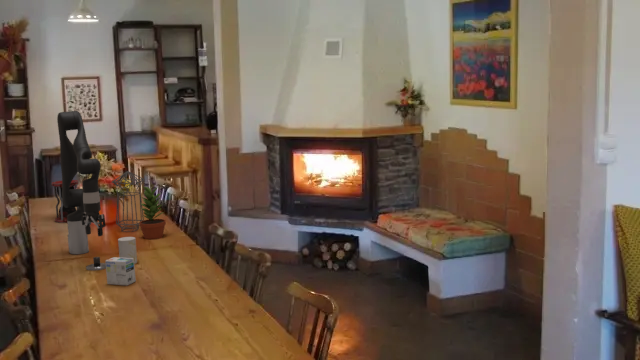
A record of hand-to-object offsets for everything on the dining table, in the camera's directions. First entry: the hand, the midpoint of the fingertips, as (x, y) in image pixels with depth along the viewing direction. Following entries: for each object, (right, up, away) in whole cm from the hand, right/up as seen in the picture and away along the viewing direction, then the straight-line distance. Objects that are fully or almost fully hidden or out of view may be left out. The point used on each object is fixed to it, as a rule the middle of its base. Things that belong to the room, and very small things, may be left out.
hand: (94, 235), depth 337 cm
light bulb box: (+19, -19, -24) cm, 36 cm away
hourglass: (-54, 0, +118) cm, 130 cm away
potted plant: (+13, -6, +63) cm, 65 cm away
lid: (+1, -16, +3) cm, 16 cm away
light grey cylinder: (+14, -14, +9) cm, 22 cm away
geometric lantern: (-4, -4, +83) cm, 84 cm away
